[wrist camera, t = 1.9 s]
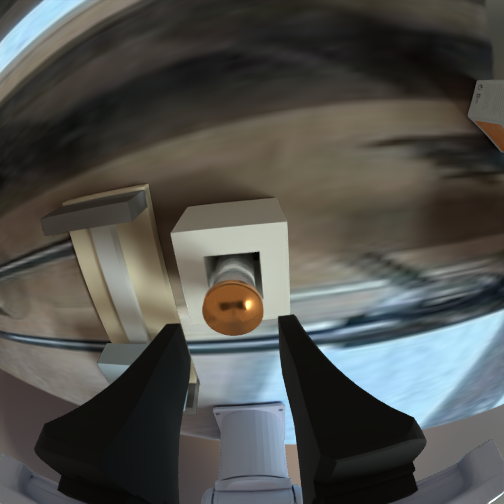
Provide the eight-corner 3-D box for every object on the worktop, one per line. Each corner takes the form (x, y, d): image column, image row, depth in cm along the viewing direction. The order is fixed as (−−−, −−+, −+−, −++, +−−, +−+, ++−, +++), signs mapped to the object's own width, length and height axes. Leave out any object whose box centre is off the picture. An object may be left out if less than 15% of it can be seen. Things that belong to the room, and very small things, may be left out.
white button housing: (280, 276, 21) (289, 316, 17) (201, 283, 21) (191, 324, 17) (276, 197, 19) (287, 221, 14) (187, 206, 19) (170, 233, 14)
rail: (200, 384, 26) (196, 415, 23) (138, 382, 27) (129, 411, 23) (148, 183, 18) (126, 198, 14) (68, 199, 18) (39, 216, 15)
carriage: (188, 389, 24) (179, 449, 18) (130, 387, 24) (113, 440, 18) (170, 343, 21) (153, 409, 15) (106, 343, 21) (79, 400, 15)
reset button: (259, 276, 18) (265, 333, 13) (216, 279, 18) (207, 337, 13) (255, 235, 17) (261, 283, 12) (209, 240, 17) (197, 289, 12)
